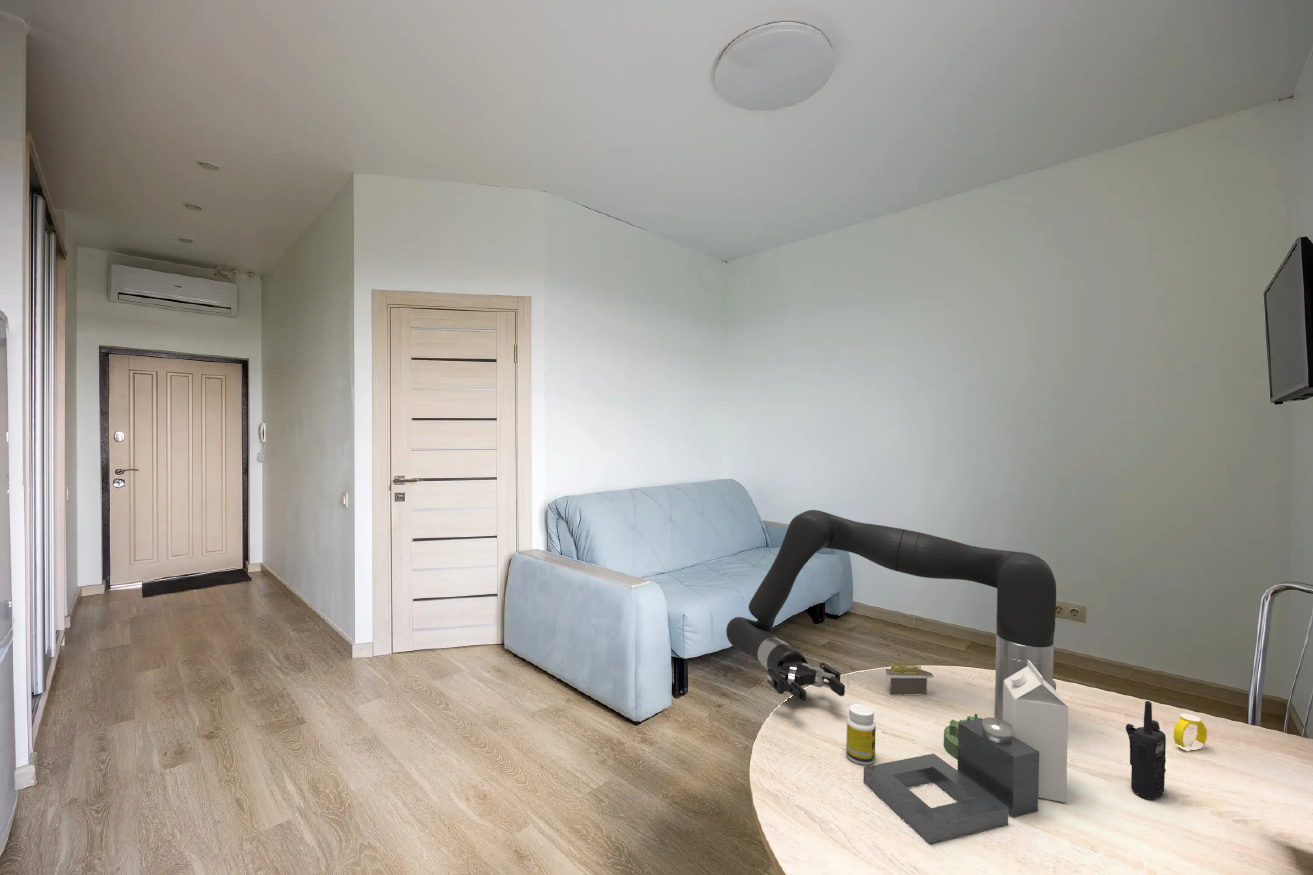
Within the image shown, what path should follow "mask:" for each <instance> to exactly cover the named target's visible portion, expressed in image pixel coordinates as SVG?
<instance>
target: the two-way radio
mask: <svg viewBox="0 0 1313 875" xmlns="http://www.w3.org/2000/svg"><path fill="white" fill-rule="evenodd" d="M1152 707H1153V704H1152V702H1151V701H1150V700H1146V701H1145V702H1144V714H1143V726H1140V727H1135V725H1134V724H1131V723H1127V724H1126V726H1125V731H1126V734H1127V735H1128V740H1129V764H1130V767H1131V779H1130V781H1131V783H1130V788H1131V790H1132V791H1133V792H1134V793H1135V792H1136V793H1138V794H1137V795H1138V796H1140V797H1142V798H1144V797H1145V798H1144V799H1147V798H1148V800H1149V799H1150V800H1152V799H1153V800H1155V799H1157V798H1159V797H1161V796H1162V795H1163V794H1164V793H1165V782H1166V781H1165V779H1166V778H1165V774H1166V772H1167V770H1166V761H1167V760H1166V758H1167V757H1166V743H1167V741H1166V734H1165V732H1164V731H1162V730H1161V728H1160V722H1158V721H1157V720H1154V719H1153V708H1152ZM1163 792H1164V793H1163ZM1136 793H1135V794H1136ZM1160 795H1161V796H1160ZM1158 796H1159V797H1158Z"/></svg>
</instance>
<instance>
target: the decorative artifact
mask: <svg viewBox="0 0 1313 875" xmlns="http://www.w3.org/2000/svg"><path fill="white" fill-rule="evenodd" d="M982 718H983V717H979V715H978V713H974V716H971V715H967V717H966V719H959V720H955V719H951V720H950V722H949V725H947V726H946V727H944V730H943V747H944V750H945V751H946V753H948V755H950V756H951V757H952V758H954V759H956V760H957V761H958V725H959V722H965V721H970V720H976V719H982Z"/></svg>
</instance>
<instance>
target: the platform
mask: <svg viewBox="0 0 1313 875" xmlns="http://www.w3.org/2000/svg"><path fill="white" fill-rule="evenodd" d="M890 664H891V667H890V668H891V669H887V668H888V667H886V668H885V676H886V677H887V678H889V679H890V688H889V689H890V693H889V694H891V695H890V696H892V695H893V694H894V696H898V695H897V694H901V695H900V696H902V694H903V696H905V695H904V694H921V695H920V696H922V694H927V693H928V679H933V678H934V674H933V673H932V672H930V671H926V670H924V669H921V667H922V666H921V665H917V664H918V663H916V662H910V663H909V662H898V663H897V662H891V663H890ZM927 695H928V694H927Z"/></svg>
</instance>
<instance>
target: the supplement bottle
mask: <svg viewBox="0 0 1313 875" xmlns="http://www.w3.org/2000/svg"><path fill="white" fill-rule="evenodd" d="M848 710H849V711H848V717H847V719H846V736H845V737H846V744H845V745H846V747H845V748H846V749H845V754H846V757H847V758H848V759H849V761H852V762H853V763H855V764H858V765H862V766H863V765H865V766H866V765H867V766H870V765H873V763H875V761H876V730H877V729H876V728H877V726H876V724H875V721H874V720H875V717H874V716H875V714H874V710H873V708H871V707H870V706H868V705H864V704H855V703H854V704H851V705H850V706H849V709H848Z"/></svg>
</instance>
